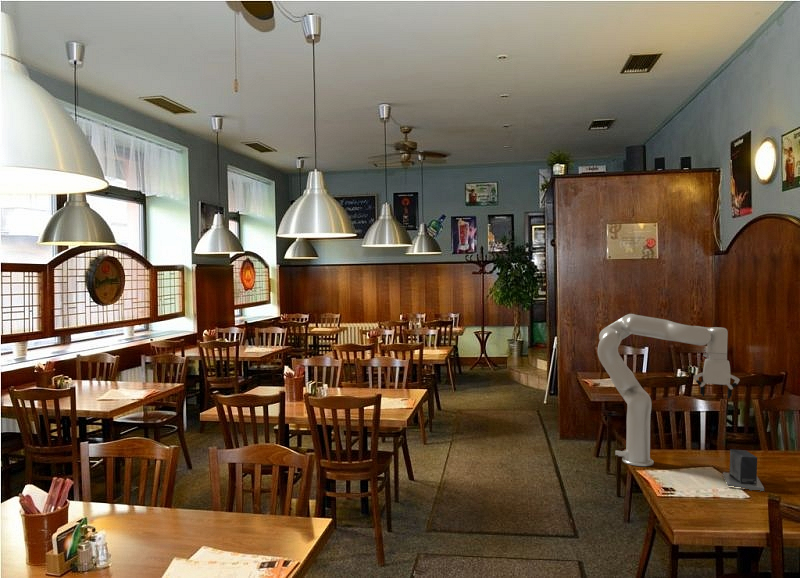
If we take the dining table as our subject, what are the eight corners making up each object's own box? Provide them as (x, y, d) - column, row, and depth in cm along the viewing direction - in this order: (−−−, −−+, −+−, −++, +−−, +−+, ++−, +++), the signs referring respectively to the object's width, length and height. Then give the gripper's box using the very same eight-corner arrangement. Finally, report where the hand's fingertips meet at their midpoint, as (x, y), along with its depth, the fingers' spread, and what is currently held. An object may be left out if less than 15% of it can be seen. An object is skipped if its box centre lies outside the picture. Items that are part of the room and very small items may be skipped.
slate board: (727, 487, 233) (728, 483, 233) (722, 475, 247) (722, 472, 247) (764, 491, 228) (764, 487, 228) (756, 479, 242) (756, 475, 242)
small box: (758, 484, 232) (758, 457, 232) (739, 483, 233) (740, 456, 233) (746, 475, 242) (746, 449, 242) (728, 474, 243) (729, 448, 243)
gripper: (694, 356, 257) (693, 396, 257) (741, 359, 250) (740, 400, 250) (693, 354, 264) (692, 393, 264) (739, 357, 257) (737, 397, 257)
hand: (715, 397), depth 257 cm, fingers open, 9 cm apart
